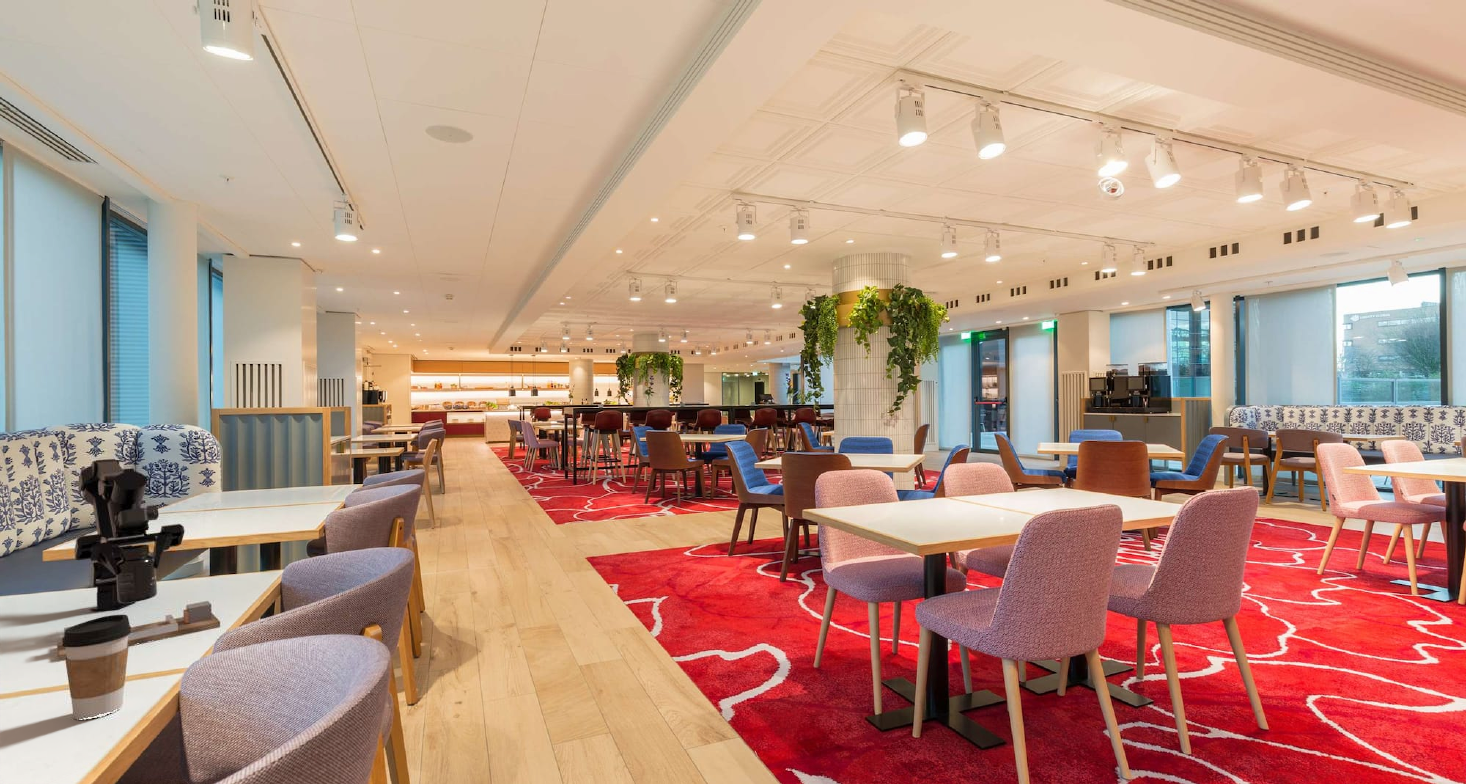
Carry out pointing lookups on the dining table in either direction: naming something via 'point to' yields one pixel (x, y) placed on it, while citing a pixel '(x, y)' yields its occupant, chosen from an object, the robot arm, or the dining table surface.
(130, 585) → the supplement bottle
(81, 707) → the coffee cup
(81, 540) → the robot arm
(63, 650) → the walnut rail
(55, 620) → the dining table surface
